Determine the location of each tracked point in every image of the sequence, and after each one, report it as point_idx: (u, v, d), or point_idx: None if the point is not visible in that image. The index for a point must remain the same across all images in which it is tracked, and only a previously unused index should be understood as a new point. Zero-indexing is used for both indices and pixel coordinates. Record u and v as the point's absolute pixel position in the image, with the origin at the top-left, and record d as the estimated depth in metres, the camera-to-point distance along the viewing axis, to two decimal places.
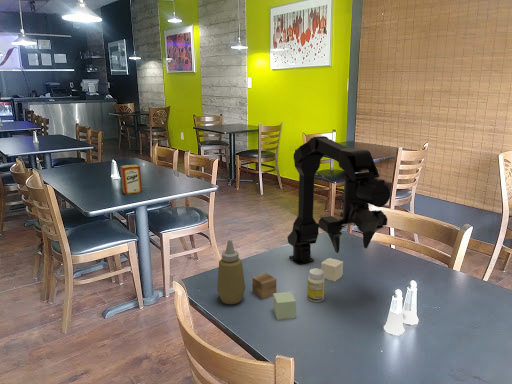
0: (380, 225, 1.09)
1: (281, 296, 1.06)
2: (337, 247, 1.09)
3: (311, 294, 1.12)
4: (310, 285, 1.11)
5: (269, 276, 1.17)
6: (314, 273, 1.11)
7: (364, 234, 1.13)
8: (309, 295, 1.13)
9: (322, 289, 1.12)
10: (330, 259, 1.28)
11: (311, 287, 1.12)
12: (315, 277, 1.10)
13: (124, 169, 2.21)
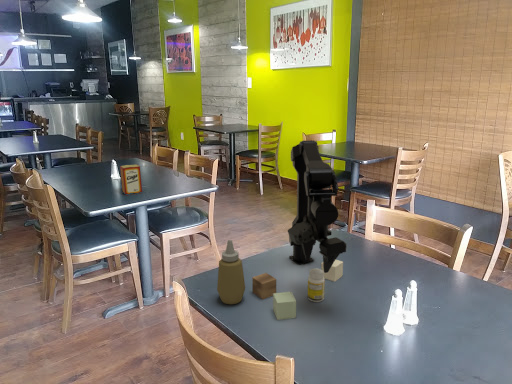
0: (321, 251, 1.03)
1: (281, 296, 1.06)
2: (304, 253, 1.15)
3: (311, 294, 1.12)
4: (310, 285, 1.11)
5: (269, 276, 1.17)
6: (314, 273, 1.11)
7: None
8: (309, 295, 1.13)
9: (322, 289, 1.12)
10: None
11: (311, 287, 1.12)
12: (315, 277, 1.10)
13: (124, 169, 2.21)
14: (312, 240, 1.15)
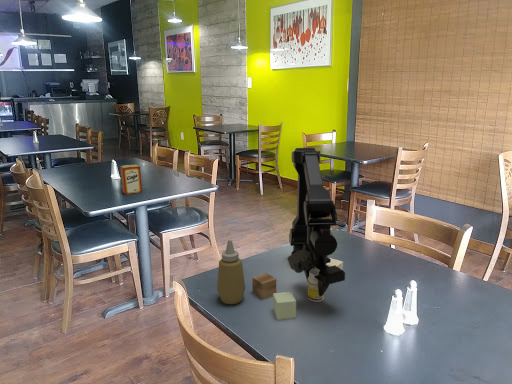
0: (321, 279, 1.05)
1: (281, 296, 1.06)
2: (307, 281, 1.16)
3: (311, 294, 1.12)
4: (310, 285, 1.11)
5: (269, 276, 1.17)
6: (314, 272, 1.11)
7: None
8: (309, 295, 1.13)
9: None
10: None
11: (311, 287, 1.12)
12: None
13: (124, 169, 2.21)
14: None
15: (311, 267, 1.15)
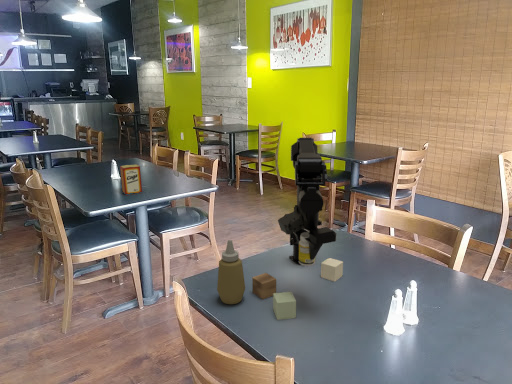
0: (311, 240, 1.03)
1: (281, 296, 1.06)
2: None
3: (301, 257, 1.10)
4: (301, 248, 1.10)
5: (269, 276, 1.17)
6: (305, 236, 1.09)
7: None
8: (300, 259, 1.11)
9: None
10: (330, 259, 1.28)
11: (301, 250, 1.10)
12: None
13: (124, 169, 2.21)
14: None
15: (302, 231, 1.13)
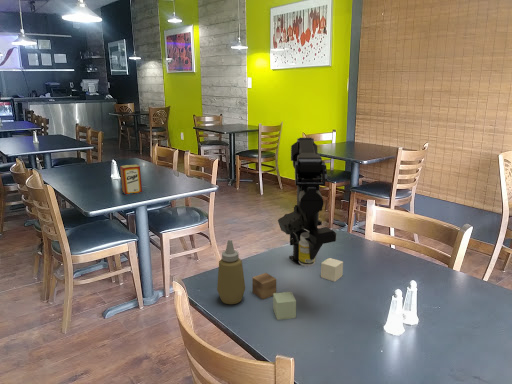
0: (311, 240, 1.03)
1: (281, 296, 1.06)
2: (298, 246, 1.14)
3: (301, 257, 1.10)
4: (301, 248, 1.10)
5: (269, 276, 1.17)
6: (305, 236, 1.09)
7: None
8: (300, 259, 1.11)
9: None
10: (330, 259, 1.28)
11: (301, 250, 1.10)
12: None
13: (124, 169, 2.21)
14: None
15: (302, 231, 1.13)
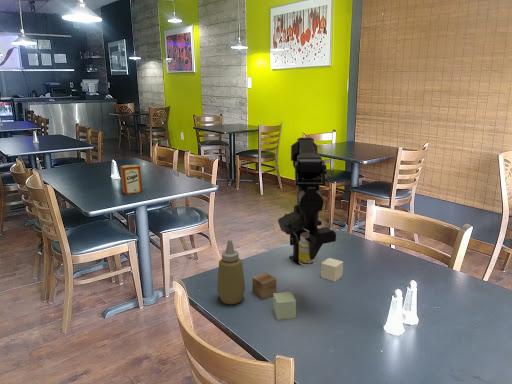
0: (311, 240, 1.03)
1: (281, 296, 1.06)
2: (298, 246, 1.14)
3: (301, 257, 1.10)
4: (301, 248, 1.10)
5: (269, 276, 1.17)
6: (305, 236, 1.09)
7: None
8: (300, 259, 1.11)
9: None
10: (330, 259, 1.28)
11: (301, 250, 1.10)
12: None
13: (124, 169, 2.21)
14: None
15: (302, 231, 1.13)
